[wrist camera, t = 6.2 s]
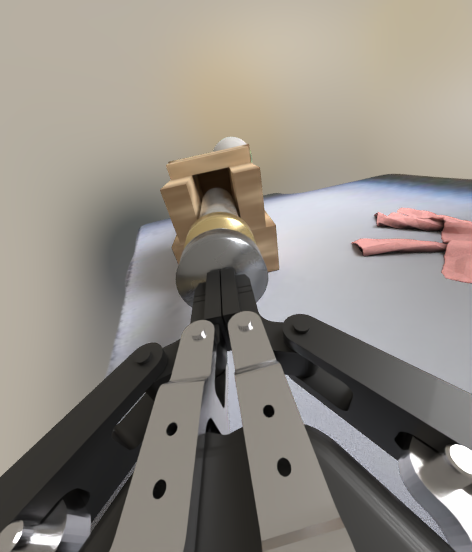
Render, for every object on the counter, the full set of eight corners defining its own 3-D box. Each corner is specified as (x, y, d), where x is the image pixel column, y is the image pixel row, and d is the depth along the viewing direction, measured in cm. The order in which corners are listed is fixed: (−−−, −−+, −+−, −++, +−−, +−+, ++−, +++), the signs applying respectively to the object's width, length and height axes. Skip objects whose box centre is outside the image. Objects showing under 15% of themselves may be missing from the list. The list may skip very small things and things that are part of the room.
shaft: (203, 227, 27) (192, 187, 24) (241, 219, 27) (233, 178, 24) (192, 322, 13) (160, 252, 10) (271, 306, 13) (263, 230, 10)
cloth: (574, 321, 15) (602, 297, 13) (296, 259, 28) (296, 244, 27) (529, 218, 26) (541, 199, 24) (346, 209, 39) (347, 196, 38)
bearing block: (196, 242, 38) (169, 161, 30) (258, 229, 37) (247, 143, 30) (188, 288, 26) (141, 174, 18) (279, 269, 26) (269, 145, 18)
